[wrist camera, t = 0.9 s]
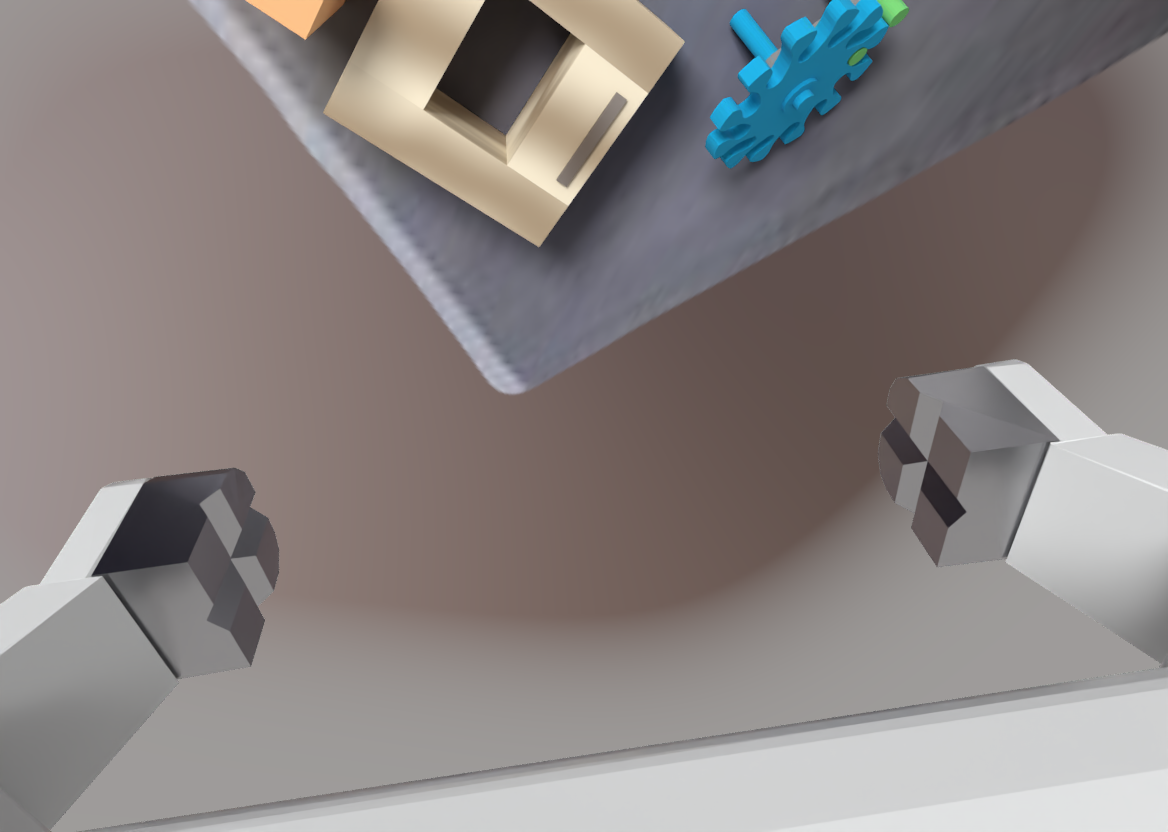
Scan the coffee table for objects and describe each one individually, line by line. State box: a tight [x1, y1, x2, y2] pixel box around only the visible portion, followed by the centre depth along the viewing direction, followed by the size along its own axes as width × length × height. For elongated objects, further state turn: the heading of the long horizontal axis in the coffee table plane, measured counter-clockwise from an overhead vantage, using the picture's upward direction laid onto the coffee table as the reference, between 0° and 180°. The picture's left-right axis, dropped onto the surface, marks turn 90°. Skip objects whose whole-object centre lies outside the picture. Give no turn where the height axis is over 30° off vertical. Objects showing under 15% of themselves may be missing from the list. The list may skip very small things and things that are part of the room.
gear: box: [705, 0, 909, 169], centre depth 37 cm, size 11×6×10 cm
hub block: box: [323, 0, 685, 247], centre depth 36 cm, size 12×12×5 cm
